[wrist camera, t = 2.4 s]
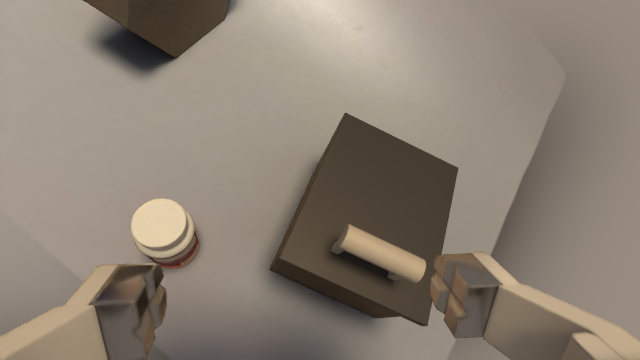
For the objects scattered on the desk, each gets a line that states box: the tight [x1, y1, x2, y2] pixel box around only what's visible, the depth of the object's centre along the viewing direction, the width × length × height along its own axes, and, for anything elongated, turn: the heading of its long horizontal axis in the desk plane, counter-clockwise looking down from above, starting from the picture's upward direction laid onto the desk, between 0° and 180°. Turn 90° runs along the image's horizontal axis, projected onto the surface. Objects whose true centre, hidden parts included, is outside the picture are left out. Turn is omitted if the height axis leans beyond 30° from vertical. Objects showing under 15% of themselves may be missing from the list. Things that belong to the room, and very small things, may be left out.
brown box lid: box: [278, 113, 458, 326], centre depth 27 cm, size 16×13×5 cm
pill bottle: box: [131, 199, 200, 269], centre depth 29 cm, size 5×5×8 cm
